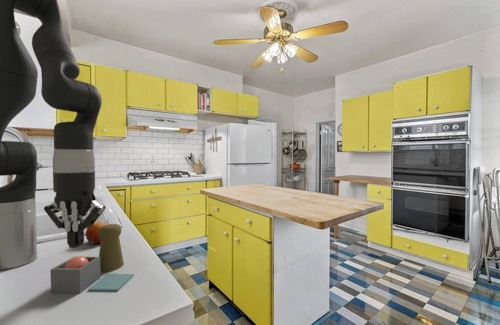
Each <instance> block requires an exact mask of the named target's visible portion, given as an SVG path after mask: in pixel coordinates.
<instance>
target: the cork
mask: <svg viewBox="0 0 500 325" xmlns="http://www.w3.org/2000/svg"><path fill="white" fill-rule="evenodd" d="M107 224H108V225H104V226H102V227H101V228H100V229H99V232H98V233H99V237H100V238H101V243H99V244H100V245H99V254H98V257H100V273H107V272H111V271H116V270H118V269H120V268H122V267H123V266H124V263H125V262H124V258H123V251H122V246H121V240H120V236H121V234H122V227H121V225H120V224H119V223H118V224H117V223H110V224H109V223H107Z"/></svg>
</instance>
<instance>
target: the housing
mask: <svg viewBox="0 0 500 325" xmlns="http://www.w3.org/2000/svg"><path fill="white" fill-rule="evenodd" d="M84 257H85V258H87V259H88V261H89V263H87V264H86V265H84V266H82V267H81V268H64V266H65V264H66V263H67V261H68V260H70V259H71V258H69V259H68V260H65V261H64V262H62V263H60V264H58V265H56V266H54V267H52V268H51V269H50V293H51V294H82V292H84V291H85V290H87V289H89V288H90V287H91V286H93V285H94V284H95V283H96V282H98V281H99V280H100V279H102V277H101V272H100V257H99V256H84Z"/></svg>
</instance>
